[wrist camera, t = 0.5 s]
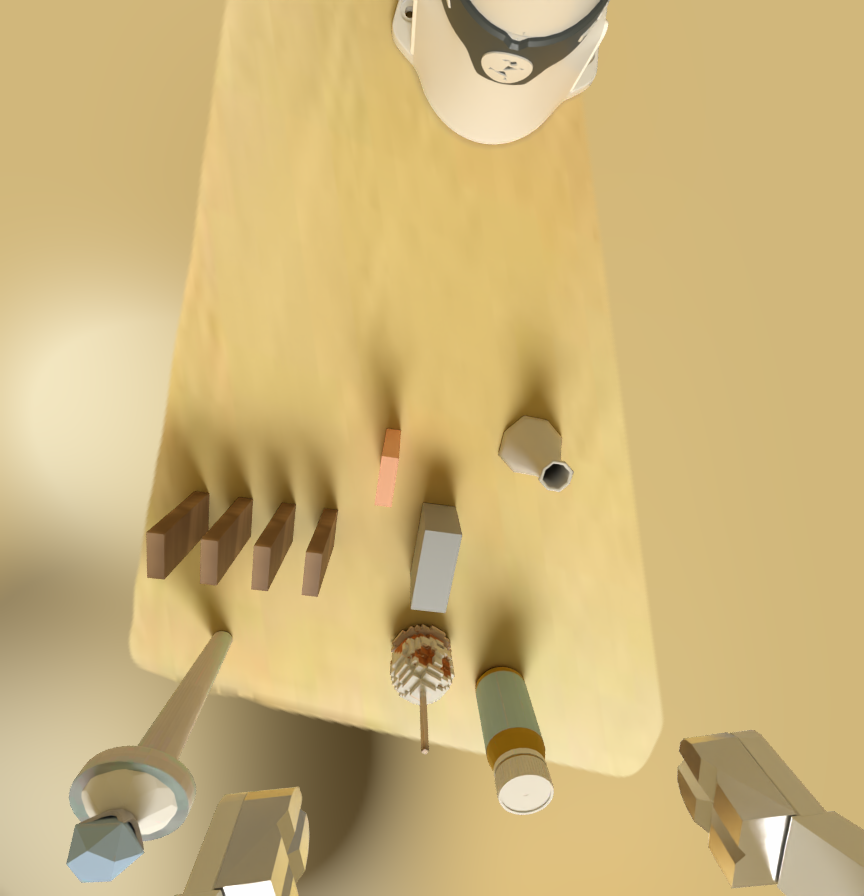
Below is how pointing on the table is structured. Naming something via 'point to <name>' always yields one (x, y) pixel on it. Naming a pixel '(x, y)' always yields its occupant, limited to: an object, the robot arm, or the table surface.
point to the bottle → (513, 742)
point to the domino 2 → (225, 541)
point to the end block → (434, 557)
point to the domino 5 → (388, 468)
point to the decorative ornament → (421, 669)
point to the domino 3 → (272, 547)
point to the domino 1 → (177, 535)
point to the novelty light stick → (140, 781)
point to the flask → (536, 452)
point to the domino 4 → (319, 553)
